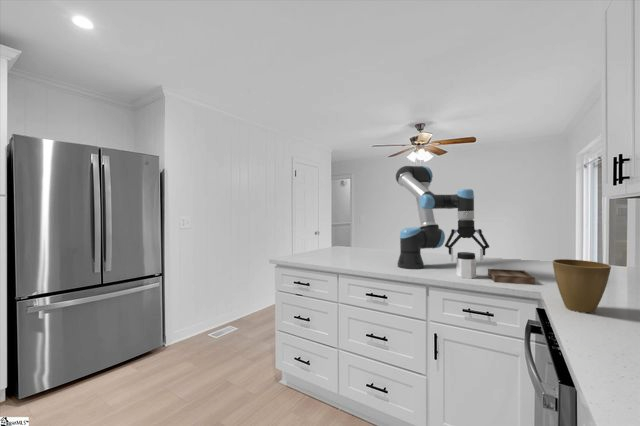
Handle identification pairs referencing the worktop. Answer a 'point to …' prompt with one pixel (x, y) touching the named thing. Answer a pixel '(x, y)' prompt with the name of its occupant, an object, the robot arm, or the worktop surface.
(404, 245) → the robot arm
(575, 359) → the worktop surface
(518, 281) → the wooden tray
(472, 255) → the jar
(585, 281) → the plant pot
